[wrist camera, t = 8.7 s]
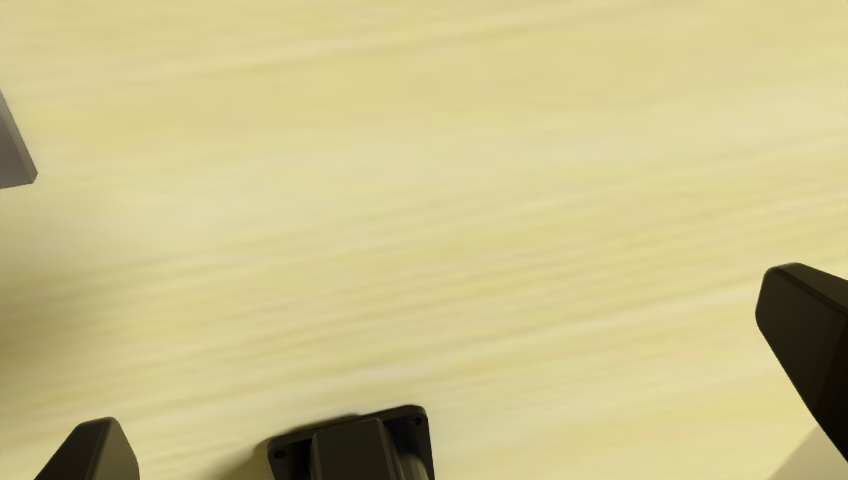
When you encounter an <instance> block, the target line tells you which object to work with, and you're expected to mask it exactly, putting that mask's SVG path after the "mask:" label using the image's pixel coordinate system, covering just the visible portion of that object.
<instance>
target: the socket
mask: <svg viewBox="0 0 848 480" xmlns="http://www.w3.org/2000/svg"><path fill="white" fill-rule="evenodd" d="M37 174H38V172H37V170H36V168H35V166H34V164H33V161H32V159H31V157H30V155H29V153H28V150H27V148H26V146H25V144H24V142H23V139H22V137H21V135H20V133H19V130H18V128H17V126H16V124H15V122H14V119H13V117H12V115H11V113H10V111H9V108H8V106H7V104H6V102H5V100H4V97H3V95H2V93H1V91H0V189H3V188H9V187H15V186H20V185H26V184H32V183H33V182H34V180H35V178H36V176H37Z"/></svg>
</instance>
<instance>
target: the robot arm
mask: <svg viewBox="0 0 848 480" xmlns="http://www.w3.org/2000/svg"><path fill="white" fill-rule="evenodd" d="M755 318H756V322H757V325H758V327H759V329H760V331H761V333H762V334H763V336H764V338H765V339H766V341H767V342H768V344H769V346H770V347H771V349H772V351H773V352H774V354H775V356H776V357H777V359H778V361H779V362H780V364H781V366H782V367H783V369H784V370H785V372H786V374H787V375H788V377H789V379H790V380H791V382H792V384H793V385H794V387H795V389H796V390H797V392H798V393H799V395H800V397H801V398H802V400H803V402H804V403H805V405H806V406H807V408H808V409H809V411H810V412H811V414H812V415H813V417H814V418H815V420H816V421H817V422H818V424H819V425H820V427H821V428H822V429H823V431H824V432H825V433H826V435H827V436H828V437H829V439H830V440H831V441H832V443H833V444H834V445H835V447H836V448H837V449H838V451H839V452H840V453H841V455H842V456H843V457H844V459H845V460H846V461H847V463H848V280H845V279H843V278H840V277H837V276H834V275H831V274H829V273H826V272H823V271H820V270H818V269H815V268H812V267H809V266H807V265H804V264H801V263H796V262H795V263H788V264H783V265H779V266H774V267H771V268H769V269H768V270H767V271H766V273H765V274H764V277H763V281H762V285H761V289H760V293H759V297H758V301H757V305H756V310H755ZM415 417H417V418H415ZM413 418H415V419H413ZM267 450H268V459H269V462H270V465H271V469H272V472H273V475H274V478H275V480H435V476H434V468H433V459H432V451H431V442H430V434H429V425H428V418H427V415H426V412H425V409H424V408H423V407H421V406H411V407H407V408H403V409H398V410H394V411H390V412H386V413H382V414H377V415H373V416H369V417H365V418H361V419H356V420H352V421H348V422H344V423H340V424H335V425H331V426H327V427H323V428H319V429H315V430H310V431H306V432H302V433H298V434H294V435H289V436H285V437H281V438H277V439H274V440H272V441H271V442H270V443H269V444H268V446H267ZM279 450H282V451H279ZM34 480H140V475H139V467H138V462H137V459H136V456H135V454H134V452H133V450H132V448H131V446H130V444H129V442H128V440H127V438H126V436H125V434H124V432H123V430H122V428H121V426H120V424H119V422H118V421H117V420H116V419H115V418H113V417H104V418H100V419H95V420H91V421H87V422H83V423H81V424H79V425H78V426H76V427H75V428H74V430H73V431H72V432H71V433H70V435H69V436H68V437H67V438H66V440H65V441H64V442H63V443H62V445H61V446H60V447H59V449H58V450H57V451H56V452H55V454H54V455H53V456H52V457H51V459H50V460H49V461H48V462H47V464H46V465H45V466H44V467H43V469H42V470H41V471H40V473H39V474H38V475H37V476H36V478H35V479H34Z"/></svg>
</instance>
